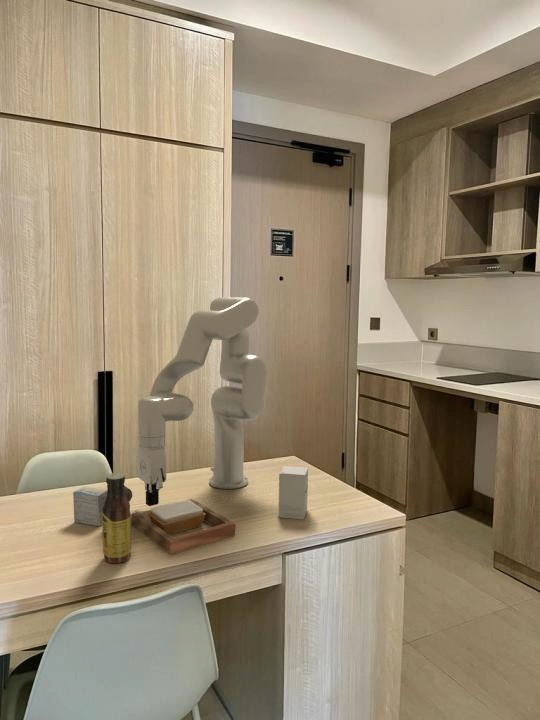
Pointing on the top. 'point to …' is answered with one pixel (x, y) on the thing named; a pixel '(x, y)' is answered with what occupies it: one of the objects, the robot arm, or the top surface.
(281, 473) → the supplement box
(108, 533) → the sauce bottle
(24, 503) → the top surface
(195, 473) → the top surface
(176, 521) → the soap dish
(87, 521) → the medicine box
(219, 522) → the bay
